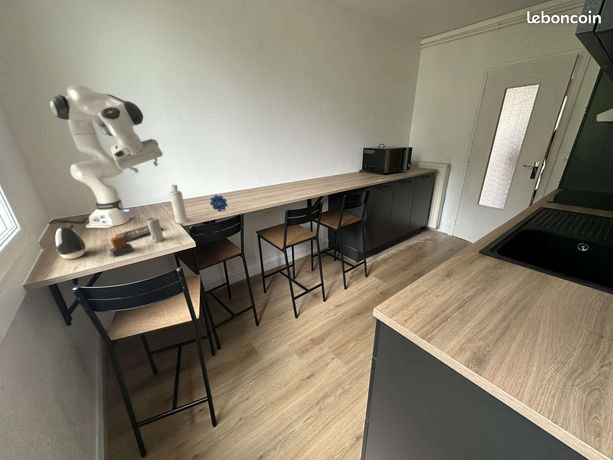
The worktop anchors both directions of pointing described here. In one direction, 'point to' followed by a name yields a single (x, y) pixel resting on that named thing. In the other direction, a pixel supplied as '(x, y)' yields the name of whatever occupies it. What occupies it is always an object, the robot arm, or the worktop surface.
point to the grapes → (218, 203)
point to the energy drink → (155, 229)
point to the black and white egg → (69, 243)
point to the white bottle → (178, 205)
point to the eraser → (120, 246)
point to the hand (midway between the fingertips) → (146, 168)
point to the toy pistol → (136, 233)
